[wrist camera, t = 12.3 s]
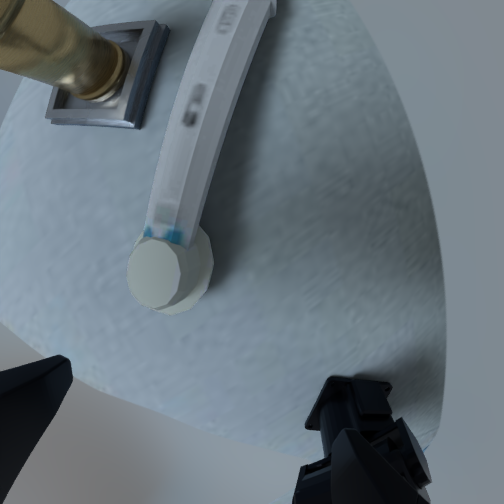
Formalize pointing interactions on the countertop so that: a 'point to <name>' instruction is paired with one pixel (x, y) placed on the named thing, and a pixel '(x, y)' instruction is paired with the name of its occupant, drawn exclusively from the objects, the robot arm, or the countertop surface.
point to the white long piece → (194, 159)
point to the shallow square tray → (132, 90)
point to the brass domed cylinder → (59, 50)
